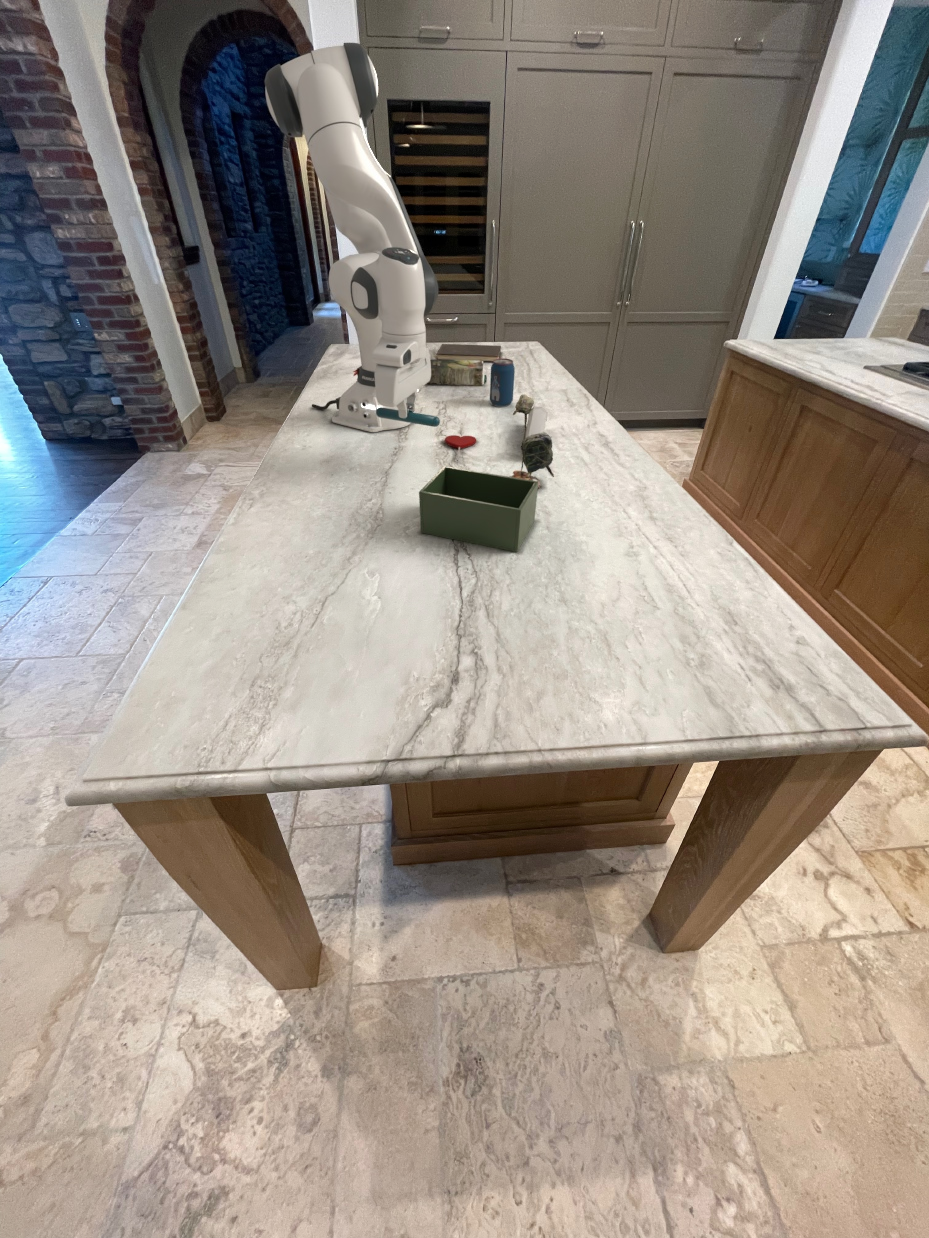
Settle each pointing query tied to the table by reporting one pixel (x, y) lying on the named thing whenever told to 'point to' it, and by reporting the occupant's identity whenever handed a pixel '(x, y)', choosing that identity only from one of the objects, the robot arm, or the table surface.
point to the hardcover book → (469, 352)
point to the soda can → (502, 382)
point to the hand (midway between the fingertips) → (407, 414)
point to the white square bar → (536, 421)
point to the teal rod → (412, 417)
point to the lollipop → (460, 442)
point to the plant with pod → (533, 446)
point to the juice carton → (457, 372)
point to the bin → (478, 507)
